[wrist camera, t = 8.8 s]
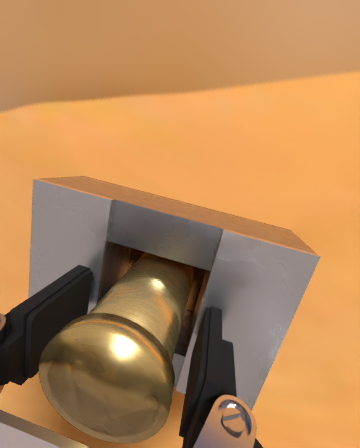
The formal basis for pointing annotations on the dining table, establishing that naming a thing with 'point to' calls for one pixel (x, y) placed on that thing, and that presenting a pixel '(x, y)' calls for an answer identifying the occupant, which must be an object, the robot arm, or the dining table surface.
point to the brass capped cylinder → (121, 354)
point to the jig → (182, 252)
